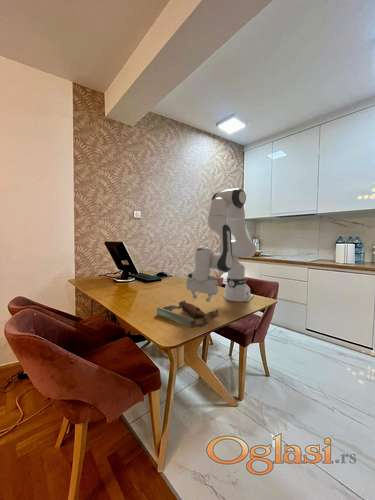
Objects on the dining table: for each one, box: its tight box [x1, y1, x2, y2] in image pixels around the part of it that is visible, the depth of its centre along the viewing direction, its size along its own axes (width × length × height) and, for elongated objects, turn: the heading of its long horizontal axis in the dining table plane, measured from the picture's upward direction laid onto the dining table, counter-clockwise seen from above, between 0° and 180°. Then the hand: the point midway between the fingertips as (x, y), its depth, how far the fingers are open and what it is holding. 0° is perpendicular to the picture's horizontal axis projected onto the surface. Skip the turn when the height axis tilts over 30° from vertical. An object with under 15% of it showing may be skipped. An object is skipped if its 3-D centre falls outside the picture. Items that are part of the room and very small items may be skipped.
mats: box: [172, 305, 210, 328], centre depth 117 cm, size 8×33×1 cm, turn 36°
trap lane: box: [156, 300, 219, 329], centre depth 117 cm, size 22×24×4 cm
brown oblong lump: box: [181, 302, 206, 320], centre depth 120 cm, size 18×7×7 cm
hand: (201, 299), depth 126 cm, fingers open, 8 cm apart
